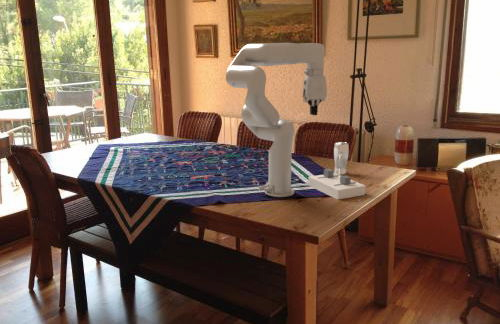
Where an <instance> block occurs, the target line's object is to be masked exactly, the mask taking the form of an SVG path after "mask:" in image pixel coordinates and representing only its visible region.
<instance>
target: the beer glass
mask: <svg viewBox="0 0 500 324" xmlns="http://www.w3.org/2000/svg"><path fill="white" fill-rule="evenodd" d="M349 147H350V146H349V142H346V141H345V142H343V141H337V142H335V143H334V147H333V158H334V173H335V174H338V175H340V176H345V175H347V163H348V158H349V149H350V148H349Z"/></svg>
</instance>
